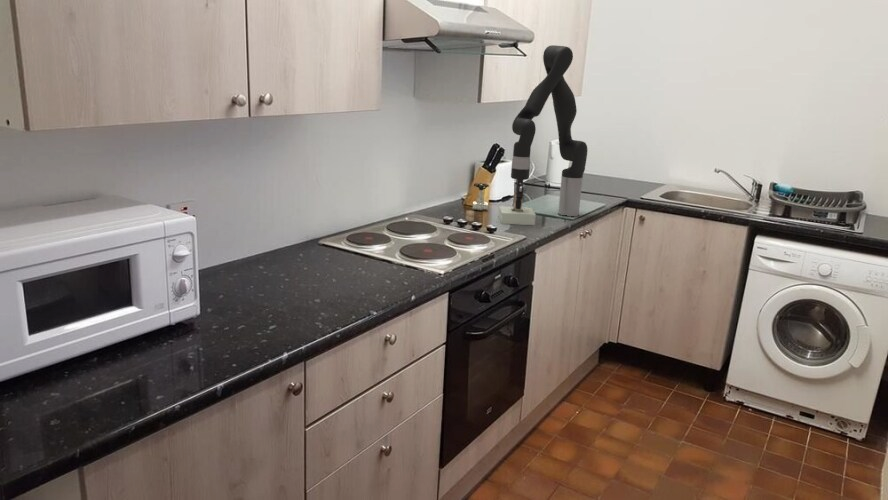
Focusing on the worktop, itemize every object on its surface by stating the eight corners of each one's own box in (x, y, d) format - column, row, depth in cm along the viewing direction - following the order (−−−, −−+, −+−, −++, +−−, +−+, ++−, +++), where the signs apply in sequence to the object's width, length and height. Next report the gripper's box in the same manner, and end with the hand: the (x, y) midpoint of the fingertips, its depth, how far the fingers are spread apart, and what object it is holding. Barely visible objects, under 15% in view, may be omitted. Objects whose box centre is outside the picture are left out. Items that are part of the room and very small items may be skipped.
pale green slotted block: (499, 216, 283) (499, 206, 282) (531, 218, 283) (532, 207, 281) (501, 223, 269) (501, 212, 268) (534, 225, 269) (535, 214, 268)
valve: (487, 212, 290) (489, 185, 287) (472, 211, 290) (474, 185, 287) (486, 209, 297) (488, 183, 294) (472, 208, 297) (473, 182, 293)
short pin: (465, 219, 274) (465, 210, 273) (473, 219, 274) (474, 210, 273) (465, 221, 271) (466, 211, 269) (473, 221, 271) (474, 212, 269)
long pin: (512, 214, 277) (514, 191, 274) (520, 214, 277) (522, 191, 274) (513, 215, 274) (514, 192, 271) (521, 216, 274) (523, 192, 271)
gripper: (531, 170, 263) (528, 211, 268) (527, 165, 277) (524, 205, 281) (513, 169, 263) (510, 210, 268) (510, 164, 277) (507, 204, 281)
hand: (517, 207), depth 274 cm, fingers closed on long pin, 3 cm apart
